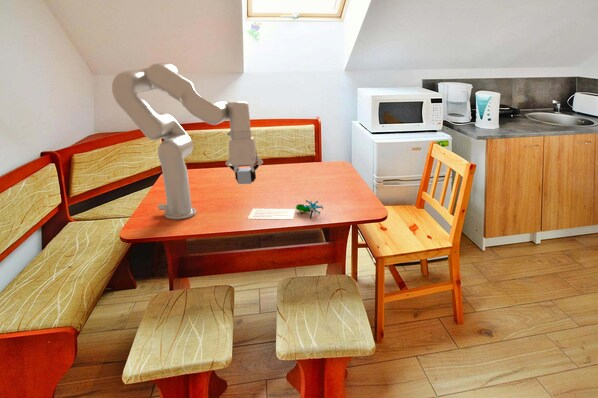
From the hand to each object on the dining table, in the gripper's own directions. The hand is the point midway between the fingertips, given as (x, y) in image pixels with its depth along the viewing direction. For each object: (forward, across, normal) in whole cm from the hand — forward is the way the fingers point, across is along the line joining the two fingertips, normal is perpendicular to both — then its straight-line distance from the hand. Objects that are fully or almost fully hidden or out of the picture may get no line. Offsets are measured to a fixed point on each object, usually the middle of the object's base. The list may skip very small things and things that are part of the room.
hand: (246, 180), depth 164 cm
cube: (+1, 0, 0) cm, 1 cm away
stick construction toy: (+17, +23, +4) cm, 29 cm away
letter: (+16, +8, +4) cm, 18 cm away
